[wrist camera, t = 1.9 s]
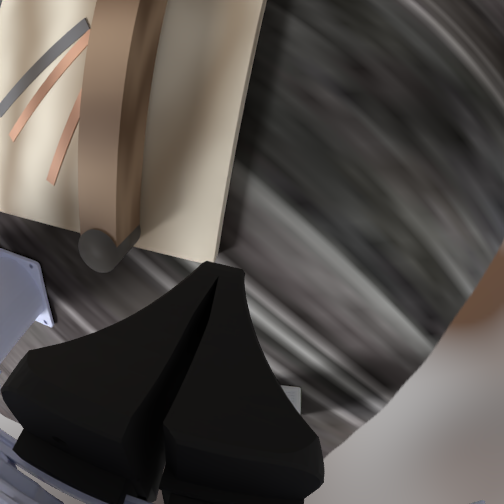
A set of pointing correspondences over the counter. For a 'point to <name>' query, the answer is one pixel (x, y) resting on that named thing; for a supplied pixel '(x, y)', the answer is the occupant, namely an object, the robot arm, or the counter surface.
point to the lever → (115, 126)
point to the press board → (158, 118)
